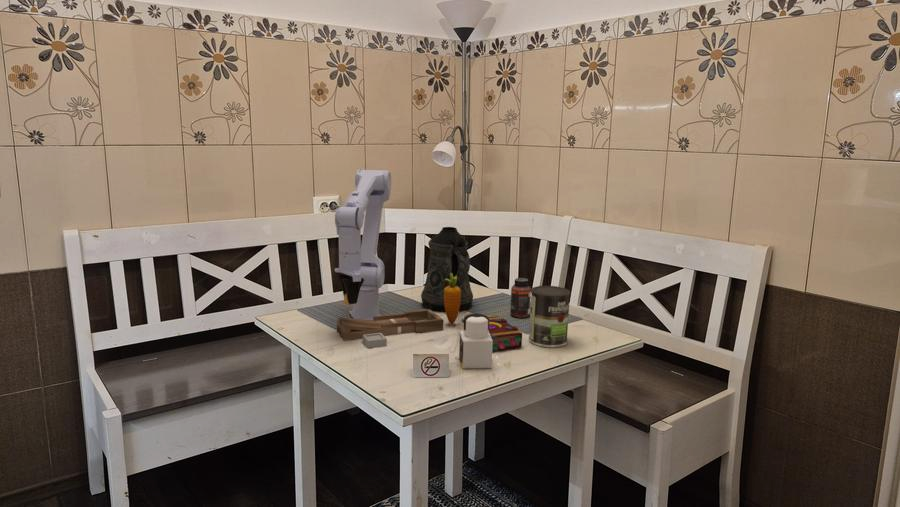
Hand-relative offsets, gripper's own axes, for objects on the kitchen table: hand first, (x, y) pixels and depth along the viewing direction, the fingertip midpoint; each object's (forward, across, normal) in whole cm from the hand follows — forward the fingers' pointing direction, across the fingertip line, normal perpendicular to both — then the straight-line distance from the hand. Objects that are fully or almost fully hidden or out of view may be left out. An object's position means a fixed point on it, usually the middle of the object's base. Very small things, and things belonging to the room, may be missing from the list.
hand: (350, 301), depth 163 cm
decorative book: (+10, +18, +34) cm, 39 cm away
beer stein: (+10, -15, +36) cm, 40 cm away
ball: (-1, 0, 0) cm, 1 cm away
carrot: (+10, +2, +29) cm, 31 cm away
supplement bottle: (+10, +1, +52) cm, 53 cm away
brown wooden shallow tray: (+9, 0, +11) cm, 14 cm away
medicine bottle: (+10, +30, +23) cm, 39 cm away
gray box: (+9, +9, +4) cm, 14 cm away
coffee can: (+10, +23, +48) cm, 54 cm away
